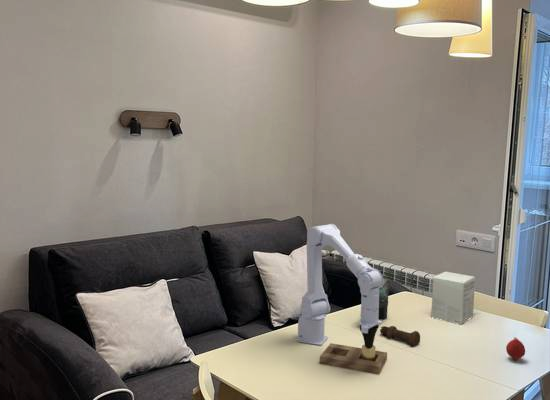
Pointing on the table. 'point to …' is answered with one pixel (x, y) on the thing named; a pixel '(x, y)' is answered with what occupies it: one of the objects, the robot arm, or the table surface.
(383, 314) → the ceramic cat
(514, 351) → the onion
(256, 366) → the table surface
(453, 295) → the supplement box
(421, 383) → the table surface
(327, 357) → the frame
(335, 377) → the table surface
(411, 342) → the bolt
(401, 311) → the table surface
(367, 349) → the brass peg
